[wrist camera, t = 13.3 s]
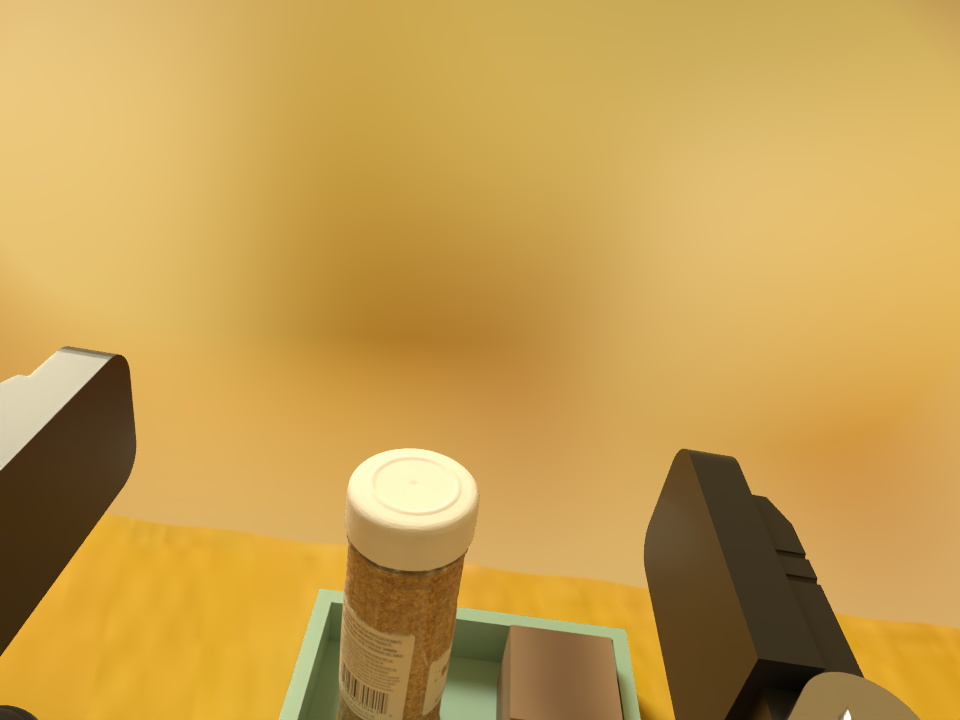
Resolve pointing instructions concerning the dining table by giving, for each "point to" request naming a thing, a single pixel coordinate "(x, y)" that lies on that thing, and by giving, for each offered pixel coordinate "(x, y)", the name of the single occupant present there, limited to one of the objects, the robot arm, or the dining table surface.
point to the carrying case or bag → (14, 713)
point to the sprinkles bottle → (402, 582)
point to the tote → (468, 671)
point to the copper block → (557, 677)
